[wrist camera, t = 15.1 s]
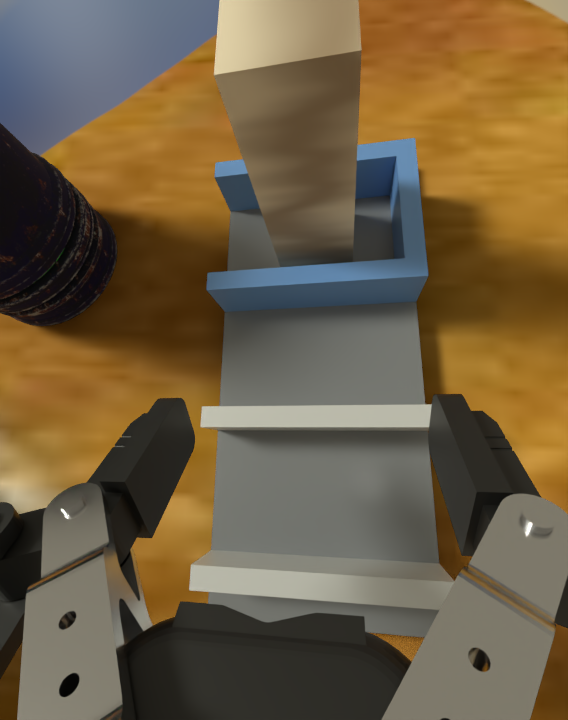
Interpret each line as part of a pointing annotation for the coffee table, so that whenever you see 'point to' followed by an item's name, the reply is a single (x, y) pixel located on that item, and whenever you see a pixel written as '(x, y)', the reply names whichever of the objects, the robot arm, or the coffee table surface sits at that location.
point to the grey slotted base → (325, 417)
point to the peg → (296, 117)
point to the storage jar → (48, 241)
